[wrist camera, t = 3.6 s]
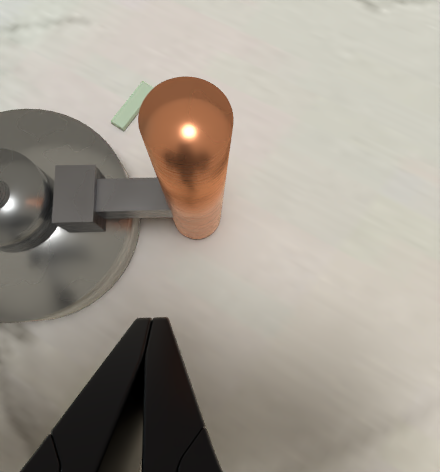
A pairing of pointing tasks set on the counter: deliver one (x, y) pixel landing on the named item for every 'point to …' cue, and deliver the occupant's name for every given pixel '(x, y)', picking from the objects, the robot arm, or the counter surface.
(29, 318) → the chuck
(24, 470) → the robot arm
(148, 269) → the counter surface
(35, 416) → the counter surface
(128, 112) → the pale green bar
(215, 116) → the copper rod with bracket
